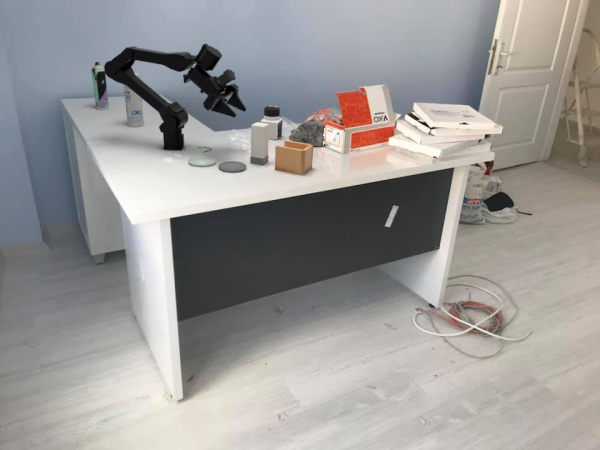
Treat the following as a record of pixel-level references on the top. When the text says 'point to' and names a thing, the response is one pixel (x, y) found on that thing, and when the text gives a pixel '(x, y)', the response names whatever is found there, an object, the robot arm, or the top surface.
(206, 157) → the pad pale
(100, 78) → the spray can
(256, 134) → the tall white pillar block
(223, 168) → the pad dark
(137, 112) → the spray paint can
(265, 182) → the top surface
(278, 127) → the medicine bottle
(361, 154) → the top surface
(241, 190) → the top surface
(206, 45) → the robot arm
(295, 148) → the chute
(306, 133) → the mineral rock
